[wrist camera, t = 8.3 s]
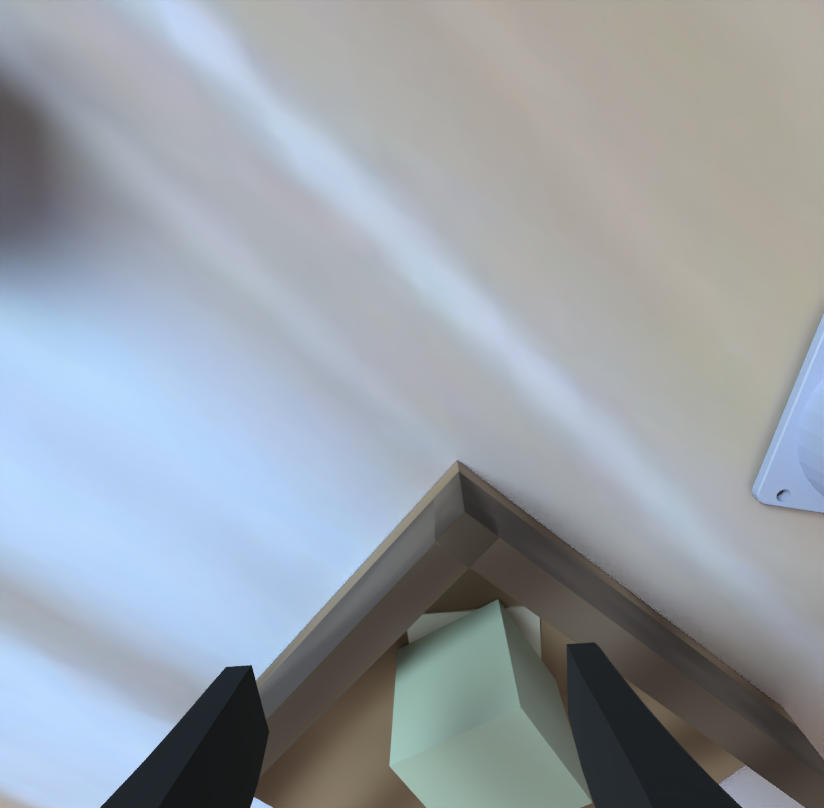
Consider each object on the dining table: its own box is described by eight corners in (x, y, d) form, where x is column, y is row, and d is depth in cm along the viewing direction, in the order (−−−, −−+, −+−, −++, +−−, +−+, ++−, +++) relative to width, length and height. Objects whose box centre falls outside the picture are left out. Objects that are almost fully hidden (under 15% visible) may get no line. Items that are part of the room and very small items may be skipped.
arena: (783, 708, 23) (854, 799, 19) (498, 910, 28) (509, 1015, 24) (457, 460, 20) (464, 511, 16) (200, 742, 25) (158, 832, 21)
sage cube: (555, 679, 21) (592, 803, 17) (457, 723, 22) (466, 853, 18) (498, 598, 20) (520, 706, 16) (397, 649, 21) (389, 765, 16)
